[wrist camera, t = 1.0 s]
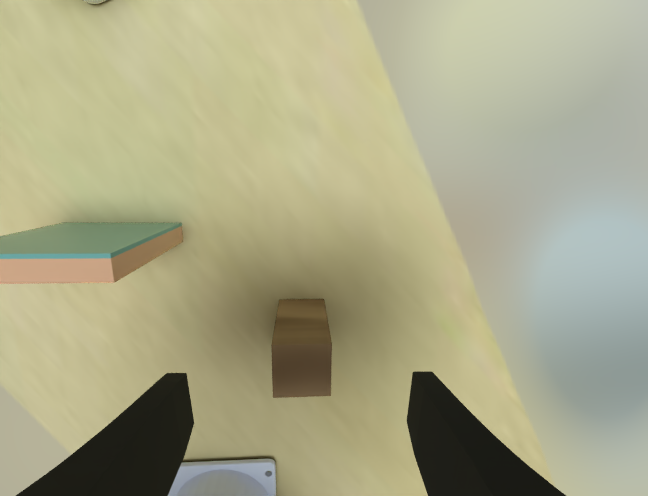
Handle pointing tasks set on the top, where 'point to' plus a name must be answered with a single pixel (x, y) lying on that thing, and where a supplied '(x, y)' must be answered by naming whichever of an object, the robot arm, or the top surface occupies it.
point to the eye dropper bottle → (94, 1)
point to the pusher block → (301, 349)
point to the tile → (83, 251)
